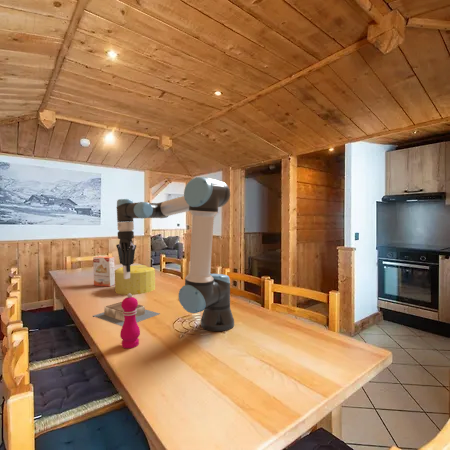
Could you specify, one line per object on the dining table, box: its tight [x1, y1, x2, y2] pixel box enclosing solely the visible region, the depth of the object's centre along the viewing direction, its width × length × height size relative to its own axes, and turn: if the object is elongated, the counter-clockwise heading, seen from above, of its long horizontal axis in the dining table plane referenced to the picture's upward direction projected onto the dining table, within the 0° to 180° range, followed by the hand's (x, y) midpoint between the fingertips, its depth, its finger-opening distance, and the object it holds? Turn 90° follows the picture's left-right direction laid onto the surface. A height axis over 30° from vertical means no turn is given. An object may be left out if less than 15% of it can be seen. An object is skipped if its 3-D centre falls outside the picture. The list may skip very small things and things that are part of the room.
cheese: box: [114, 264, 156, 296], centre depth 196 cm, size 26×26×15 cm
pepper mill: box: [119, 293, 141, 349], centre depth 110 cm, size 7×7×20 cm
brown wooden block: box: [104, 301, 146, 321], centre depth 144 cm, size 4×12×16 cm
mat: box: [92, 309, 161, 327], centre depth 144 cm, size 26×21×1 cm
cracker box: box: [92, 255, 116, 288], centre depth 208 cm, size 14×6×21 cm, turn 73°
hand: (127, 278), depth 142 cm, fingers closed
